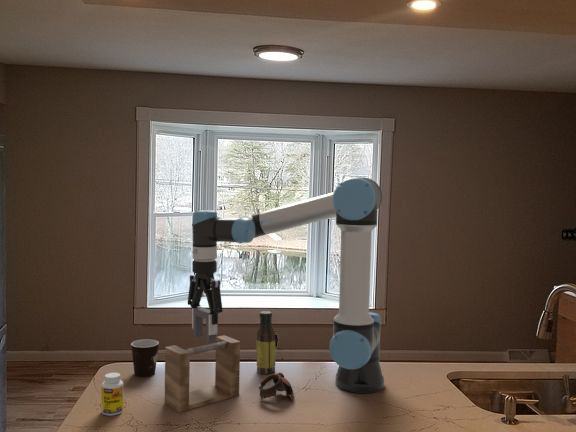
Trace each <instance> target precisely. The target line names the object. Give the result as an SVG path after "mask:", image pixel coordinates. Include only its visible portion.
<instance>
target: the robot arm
mask: <svg viewBox="0 0 576 432" xmlns="http://www.w3.org/2000/svg"><path fill="white" fill-rule="evenodd" d="M382 202H383V192H382V189H381V187H380V186H379V184H378V183H377V182H376V181H375V180H373V179H371V178H369V177H362V176H351V177H347V178H345V179H344V180H342V181H341V182H340V183H339V184H338V185H337V186H336V188H335V190H333V192H330V193H327V194H326V193H325V194H323V195H319V196H315V197H312V198H308V199H304V200H301V201H300V200H299V201H297V202H294V203H290V204H286V205H281V206H278V207H274V208H271V209H268V210H264V211H260V212H257V213H252V214H249V215H244V216H243V215H241V216H236V217H220V216H218V213H217V211H216V210H212V209H211V210H210V209H209V210H208V209H203V210H202V209H201V210H199V209H198V210H195V211H194V212H193V213H192V224H191V226H192V227H191V228H192V251H191V252H192V259H193V261H192V265H191V266H192V268H191V269H192V273H194V274H191V275H189V288H188V294H187V295H188V297H187V305H188V306H190V308H191V328H192V330H193V308H197V307H201V304H200V303H201V301H202V297H203V294H205V296H206V297H205V298H206V300H207V304H208V308H209V309H208V310H210V313H208V314H209V335H214V334H216V335H218V323H219V313H223V301H222V295H221V280H220V279H216V278H215V276H214V274H215V273H216V272H217V271H218V268H217V267H218V262H217V258H218V251H217V250H218V245H217V244H218V242H222V243H223V242H224V243H237V244H247V243H248V244H249V243H252V242H253V240H254V239H256V238H258V237H261V236H266V235H268V234H273V233H277V232H281V231H285V230H288V229H293V228H297V227H301V226H304V225H310V224H313V223H317V222H321V221H325V220H329V219H333V218H335V225H336V227H338V228H339V229H340V257H339V258H340V261H339V263H340V265H339V293H338V294H339V299H338V300H339V301H338V303H339V306H338V308H339V309H338V313H337V314H336V315H335V316H333V320H332V321H333V323H332V324H333V325H332V327H333V328H332V330H333V331H332V336H331V339H330V341H329V345H328V347H329V348H328V349H329V354H330V356H331V358H332V359H331V360H333V361H334V363H335V364H337V365H338V368H337V372H336V374H335V379H334V380H335V386H336V387H338V388H339V389H341V390H343V391H346V392H351V393H357V394H373V393H376V392H380V391H382V390H383V389H384V387H385V378H384V375H383V372H382V367H381V362H380V354H381V353H380V352H381V351H380V349H381V348H380V347H381V329H382V328H381V327H382V321H381V320H382V319H381V315H380V314H379V313H376V312H372V311H370V293H371V292H370V290H371V259H372V257H371V254H372V251H371V250H372V231H373V230H374V229H375V228H376V227H377V226H378V210H379V208H380V206H381V205H382Z"/></svg>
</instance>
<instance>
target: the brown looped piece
mask: <svg viewBox="0 0 576 432" xmlns="http://www.w3.org/2000/svg"><path fill="white" fill-rule="evenodd" d="M270 381H272V383H273V385H272V386H269V387H268V388H264V387H265V386H266V384H268V383H269V382H270ZM259 384H260V385H259V386H258V390H259V397H260V399H267V398H268V399H269V398H271V397H274V398H278V395H277V392H285V395H286V396H289V397H290V398H291V399H290V400H291V402H293V403H294V401H295V396H294V395H295V394H294V390H293V387H292V385H291V383H290V381H289V380H288V379H287V378H285V375H284V374H283V373H282V372H277V373H270V374H268V376H265V378H263V379H262V381H260V383H259Z"/></svg>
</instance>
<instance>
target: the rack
mask: <svg viewBox="0 0 576 432" xmlns="http://www.w3.org/2000/svg"><path fill="white" fill-rule="evenodd" d="M164 348H165V349H164V404H166V405H167V406H169V407H170V408H172V409H173V410H175V411H177V413H181V412H187V411H190V410H192V409H196V408H199V407H202V406H206V405H209V404H213V403H216V402H220V401H224V400H227V399H230V398H234V397H237V396H240V373H241V372H240V368H241V367H240V365H241V364H240V363H241V359H240V358H241V341H240V340H238V339H235V338H232V337H230V336H227V335H225V334H223V335H219V336H216V341H215V342H214V343H208V344H205V345H200V346H196V347H190V348H186V349H185V348H182V347H180V346H178V345H176V344H175V345H174V344H173V345H169V346H165V347H164ZM211 351H215V373H214V374H215V375H214V376H215V378H214V385H212V386H208V387H204V388H200V389H195V390H192V391H190V370H191V368H190V365H191V364H190V361H191V360H190V358H191V356H193V355H198V354H201V353H206V352H211Z"/></svg>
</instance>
